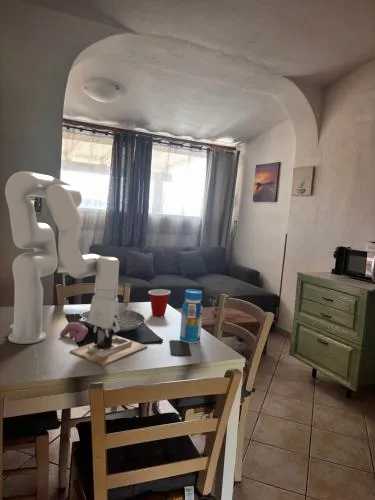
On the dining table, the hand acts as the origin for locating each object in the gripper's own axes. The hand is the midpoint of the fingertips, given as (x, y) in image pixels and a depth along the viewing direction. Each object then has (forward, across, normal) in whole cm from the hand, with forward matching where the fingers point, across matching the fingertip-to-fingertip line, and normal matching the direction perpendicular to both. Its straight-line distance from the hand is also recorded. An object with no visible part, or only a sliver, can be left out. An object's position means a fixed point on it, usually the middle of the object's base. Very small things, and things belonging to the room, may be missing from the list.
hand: (103, 344), depth 128 cm
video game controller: (+3, -18, +2) cm, 18 cm away
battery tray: (+3, 0, +4) cm, 5 cm away
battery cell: (+1, 0, 0) cm, 1 cm away
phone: (+3, +17, +23) cm, 29 cm away
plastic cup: (+3, -15, +51) cm, 53 cm away
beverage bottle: (+3, +15, +33) cm, 36 cm away
